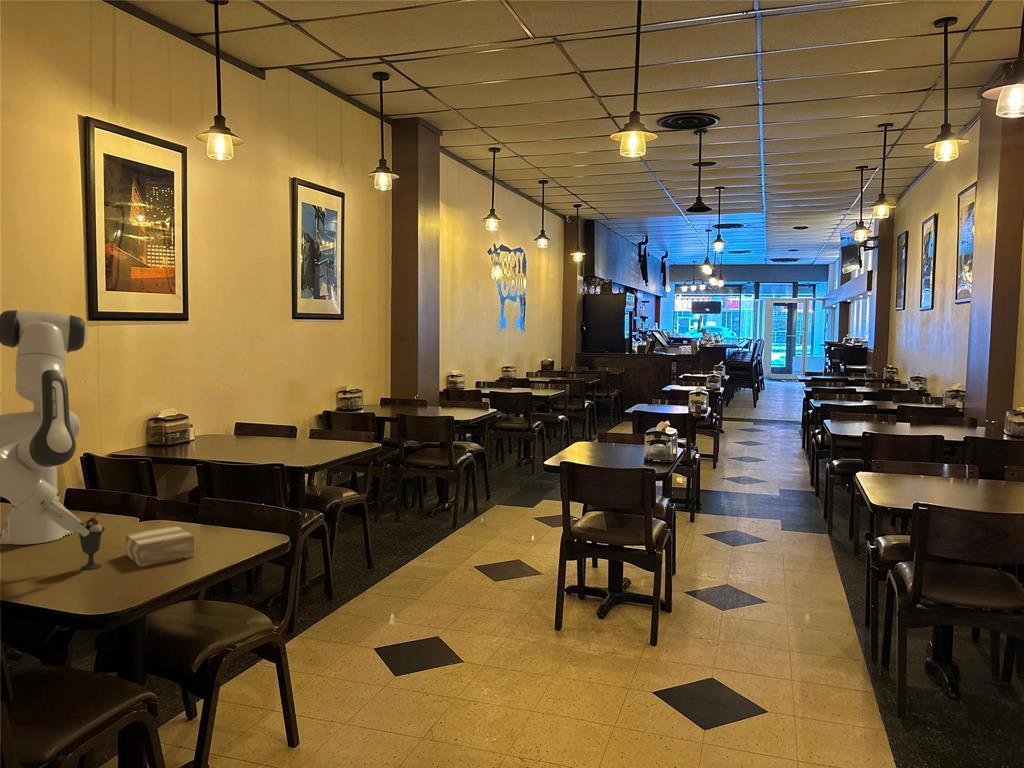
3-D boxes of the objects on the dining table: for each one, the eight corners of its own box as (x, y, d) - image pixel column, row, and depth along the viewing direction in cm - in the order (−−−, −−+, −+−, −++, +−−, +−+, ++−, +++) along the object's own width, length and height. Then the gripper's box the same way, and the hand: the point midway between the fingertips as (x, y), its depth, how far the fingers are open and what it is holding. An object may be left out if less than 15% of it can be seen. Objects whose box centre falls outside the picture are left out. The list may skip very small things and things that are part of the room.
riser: (126, 554, 205) (125, 534, 204) (177, 545, 214) (177, 525, 214) (140, 566, 194) (140, 545, 194) (194, 556, 204) (193, 536, 203)
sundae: (109, 567, 194) (108, 512, 193) (81, 572, 189) (80, 516, 188) (101, 561, 198) (99, 508, 197) (73, 567, 193) (72, 512, 192)
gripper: (56, 496, 178) (102, 528, 185) (41, 483, 193) (83, 513, 200) (36, 516, 175) (82, 548, 182) (21, 502, 190) (65, 532, 197)
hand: (82, 530), depth 191 cm, fingers open, 8 cm apart
